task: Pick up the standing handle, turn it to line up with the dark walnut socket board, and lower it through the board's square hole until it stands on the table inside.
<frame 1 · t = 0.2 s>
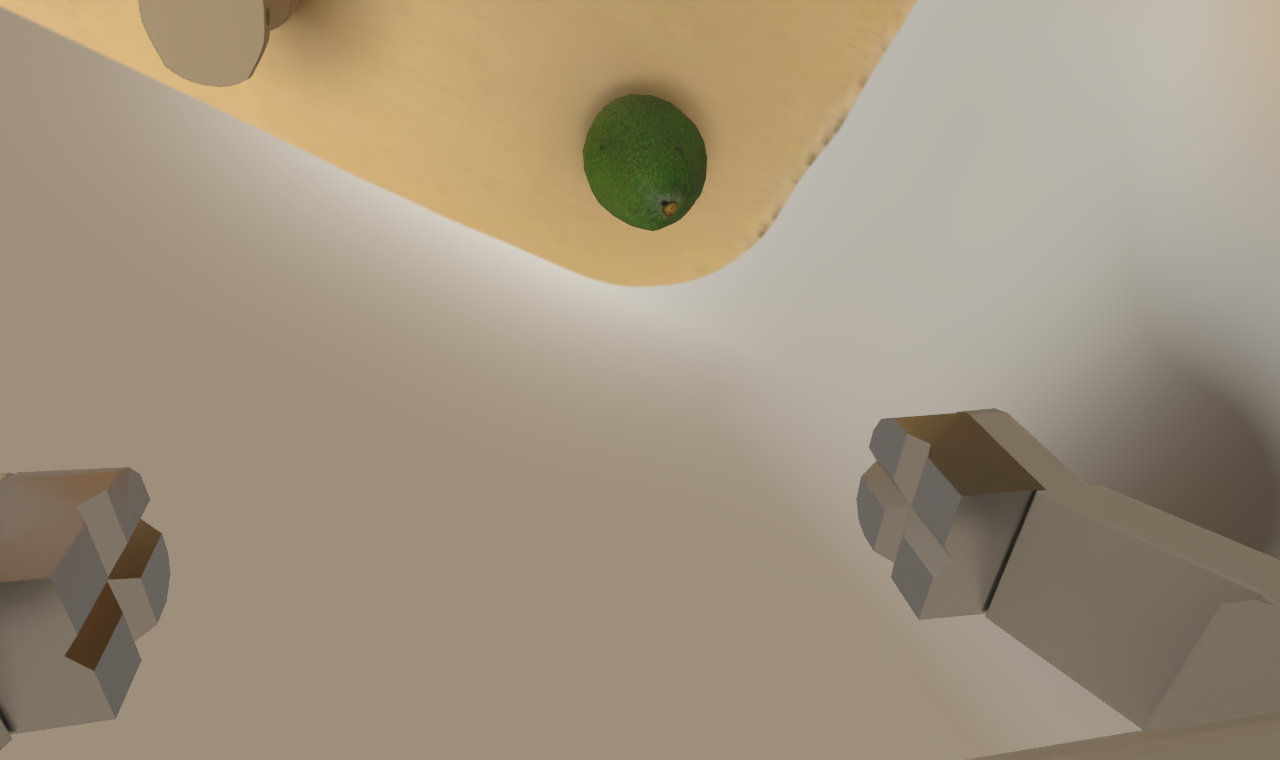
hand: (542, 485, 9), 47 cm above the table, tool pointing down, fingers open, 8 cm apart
fruit: (630, 141, 54), on the table
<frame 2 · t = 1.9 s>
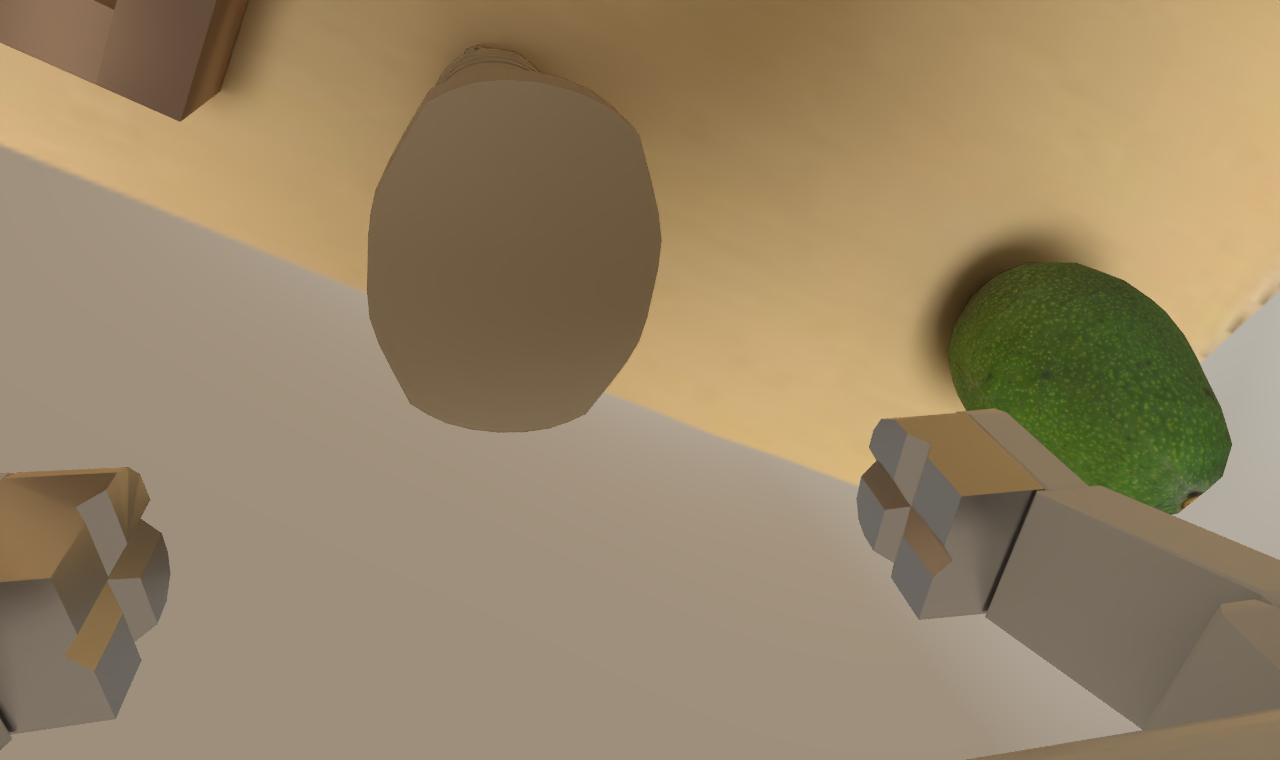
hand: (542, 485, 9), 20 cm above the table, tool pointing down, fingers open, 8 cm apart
handle: (491, 93, 26), on the table
fruit: (991, 312, 35), on the table
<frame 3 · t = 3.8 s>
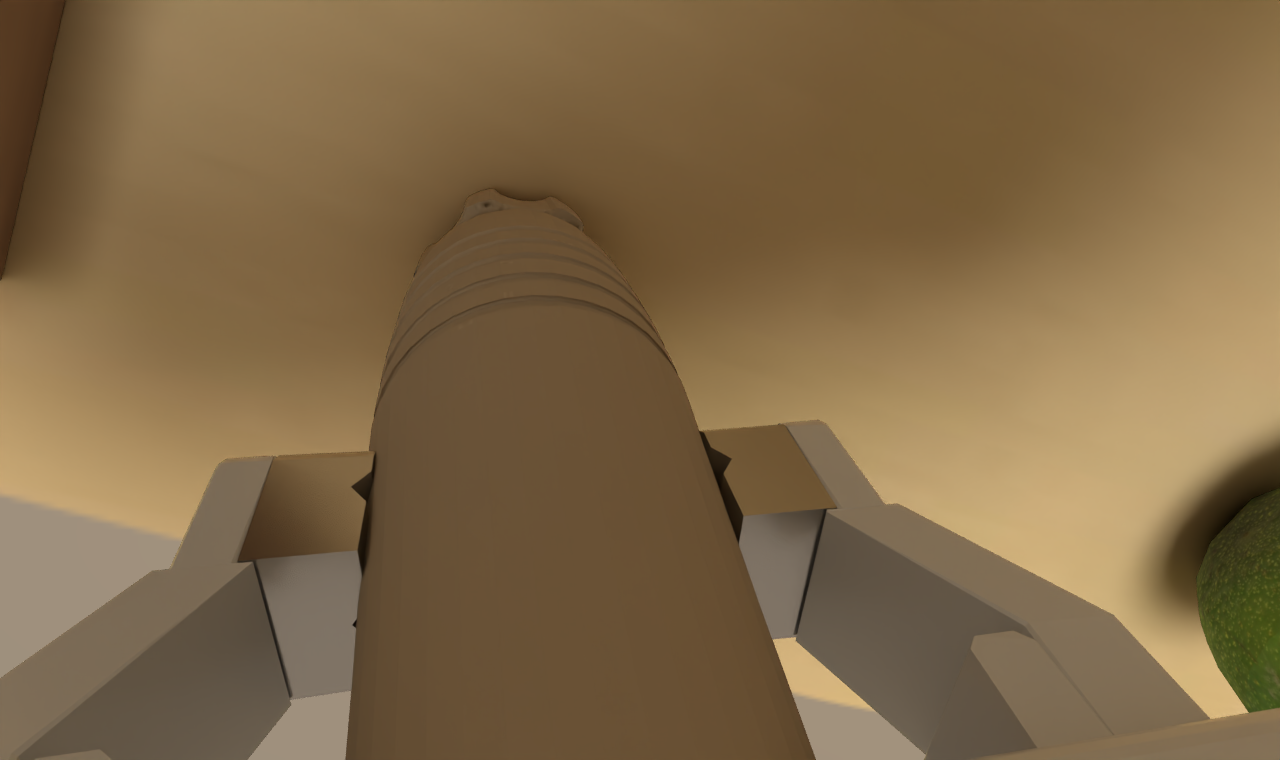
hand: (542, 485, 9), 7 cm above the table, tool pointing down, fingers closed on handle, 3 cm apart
handle: (511, 262, 14), on the table, touching gripper
fruit: (1245, 522, 23), on the table
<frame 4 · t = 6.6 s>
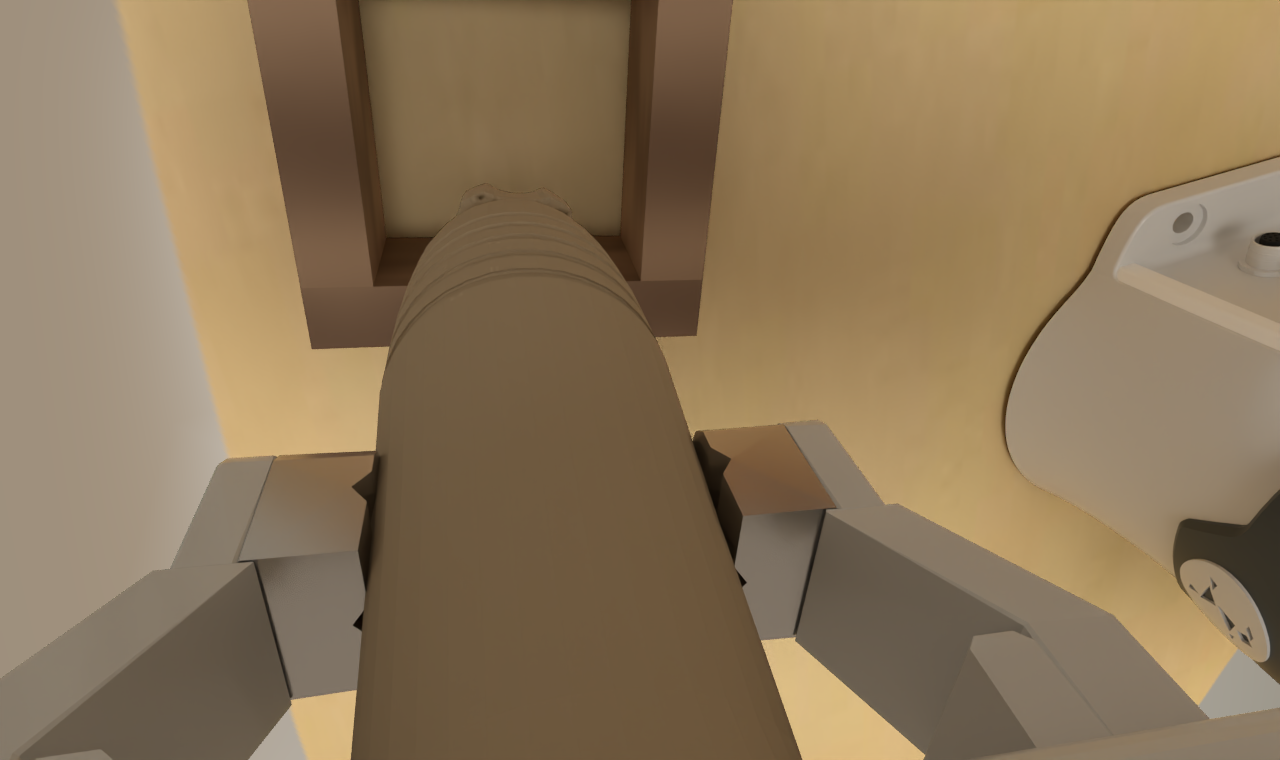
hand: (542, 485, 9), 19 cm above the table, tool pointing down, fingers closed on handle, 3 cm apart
socket board: (502, 117, 24), on the table
handle: (509, 252, 15), point 11 cm above the table, touching gripper
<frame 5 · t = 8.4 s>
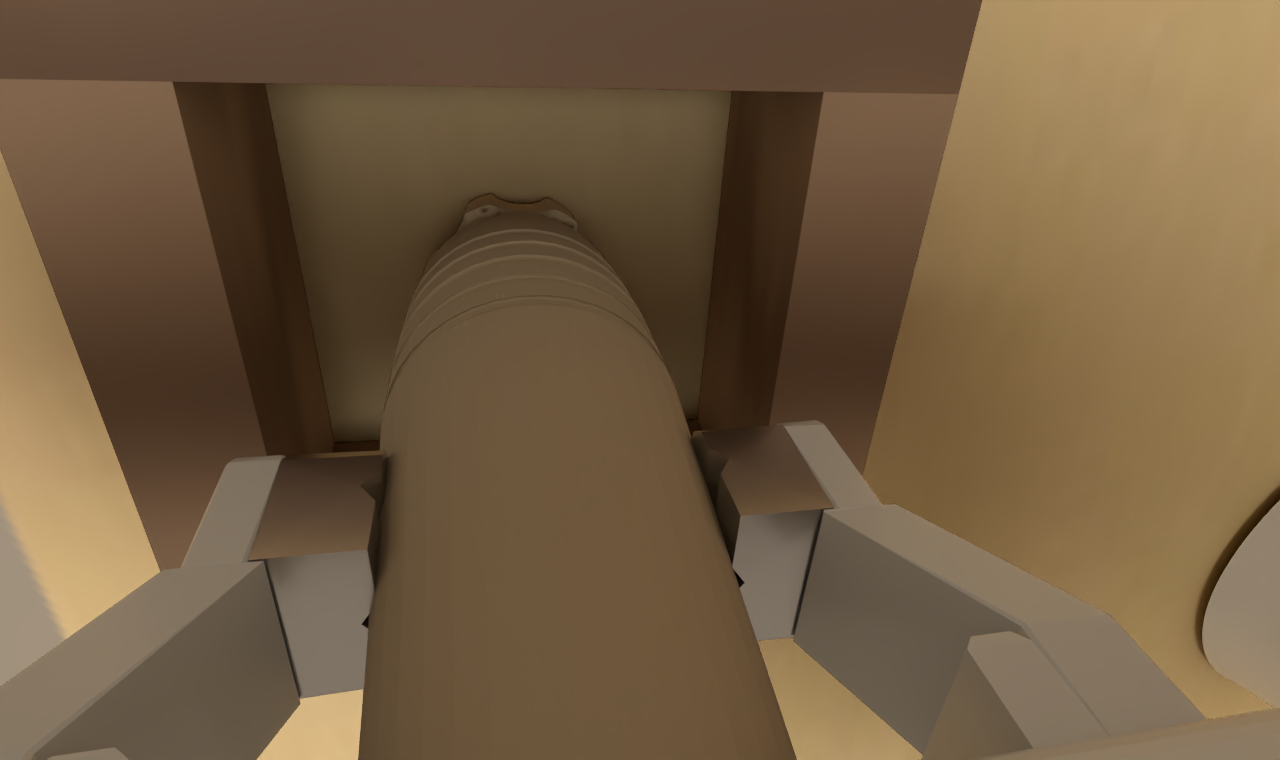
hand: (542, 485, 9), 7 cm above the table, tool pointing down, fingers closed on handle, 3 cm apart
socket board: (517, 263, 15), on the table
handle: (513, 263, 15), resting in socket board, touching gripper
when the fingers open (7 cm above the table, at t = 8.6 s): handle stays where it is, resting in socket board.
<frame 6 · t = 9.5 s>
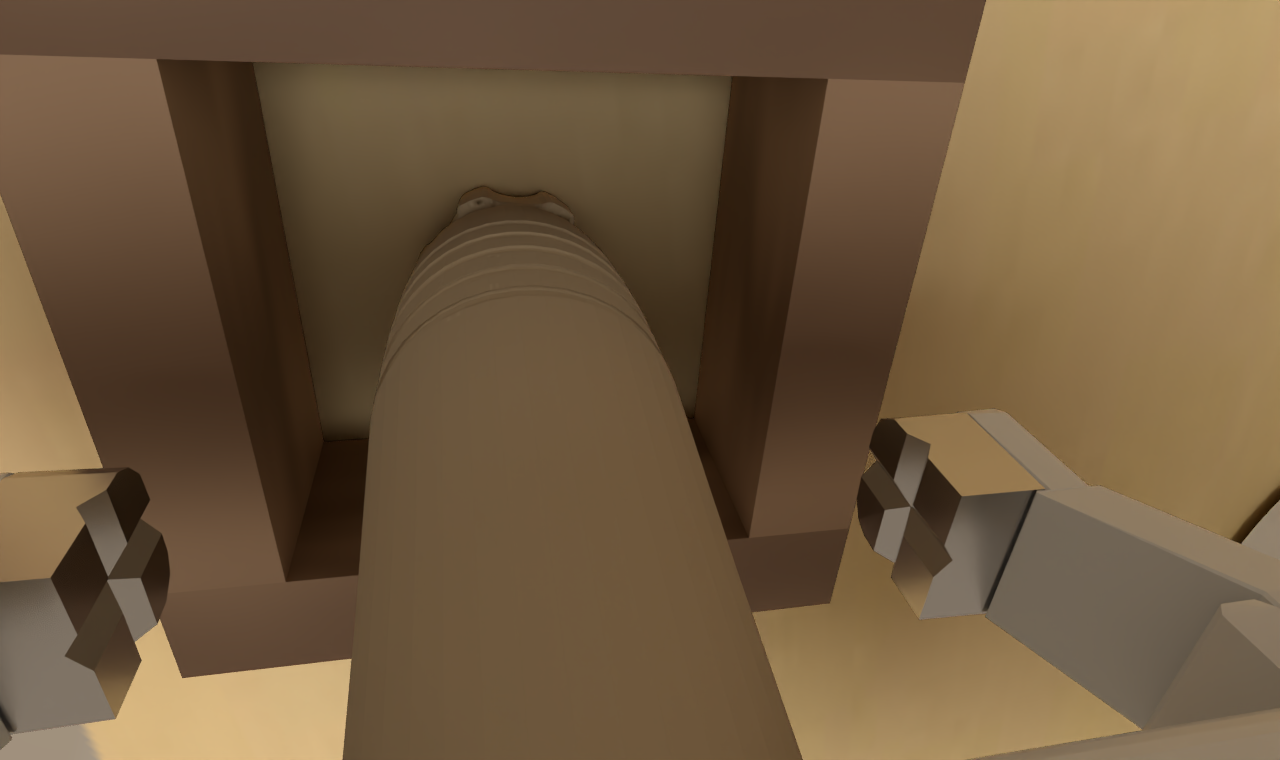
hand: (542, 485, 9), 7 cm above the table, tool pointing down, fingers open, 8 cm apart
socket board: (512, 257, 15), on the table
handle: (508, 257, 15), resting in socket board
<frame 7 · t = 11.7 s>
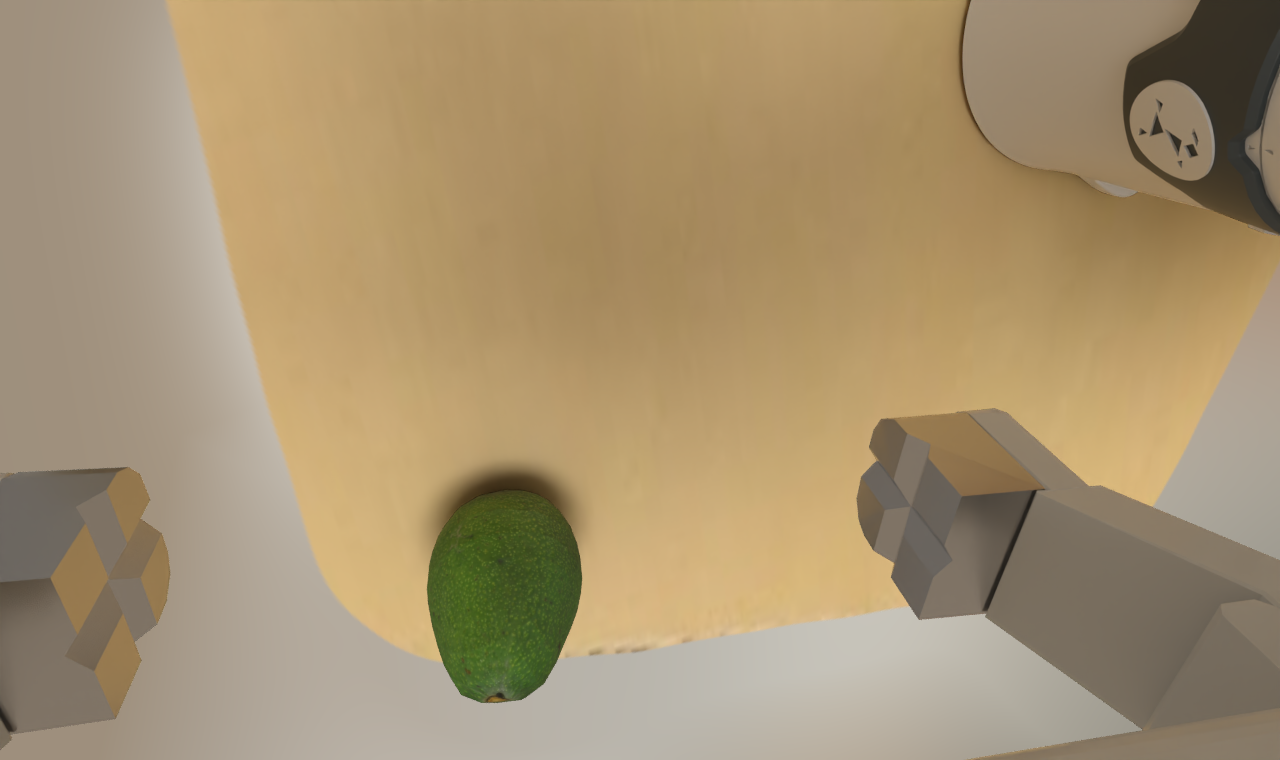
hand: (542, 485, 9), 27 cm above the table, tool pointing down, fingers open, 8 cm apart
fruit: (502, 512, 44), on the table
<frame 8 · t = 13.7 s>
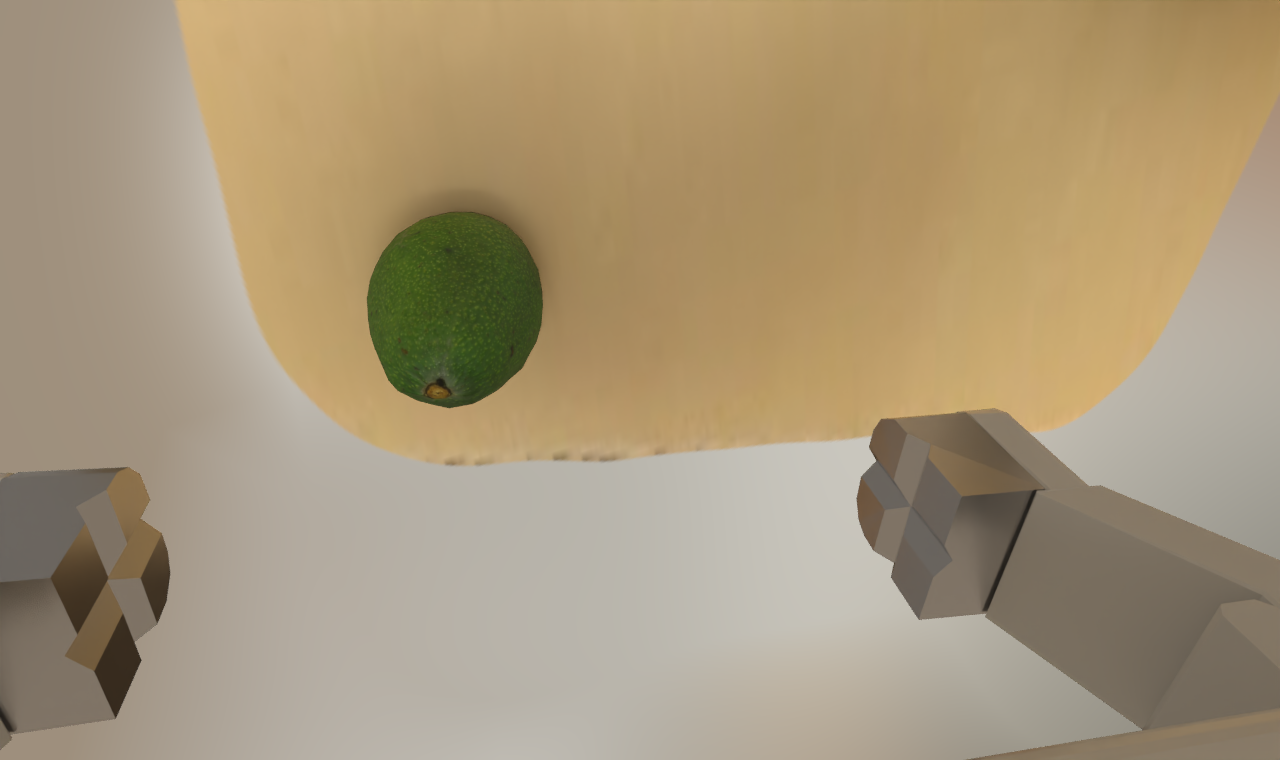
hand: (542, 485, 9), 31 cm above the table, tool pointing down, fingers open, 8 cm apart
fruit: (459, 261, 40), on the table
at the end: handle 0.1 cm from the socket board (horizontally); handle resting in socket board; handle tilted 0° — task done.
